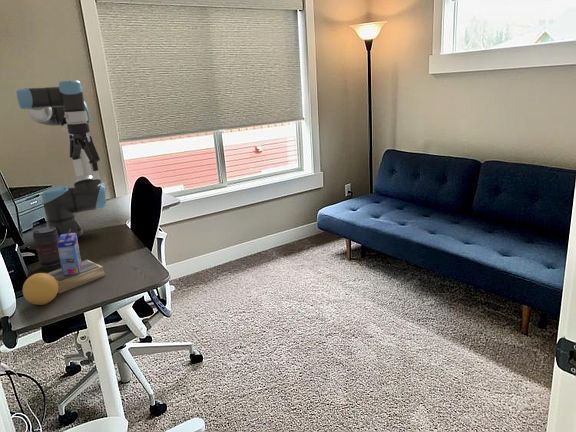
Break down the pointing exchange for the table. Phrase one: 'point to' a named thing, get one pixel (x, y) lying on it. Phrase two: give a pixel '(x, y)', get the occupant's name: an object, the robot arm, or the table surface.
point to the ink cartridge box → (69, 253)
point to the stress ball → (40, 288)
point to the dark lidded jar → (47, 247)
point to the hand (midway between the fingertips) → (88, 177)
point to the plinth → (78, 276)
